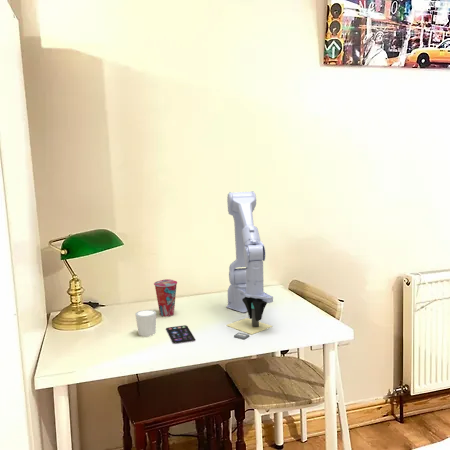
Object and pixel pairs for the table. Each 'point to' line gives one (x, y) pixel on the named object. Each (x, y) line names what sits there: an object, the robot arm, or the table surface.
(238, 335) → the word tile
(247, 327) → the note pad
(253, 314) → the marker
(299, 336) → the table surface
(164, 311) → the cup
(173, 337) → the smartphone
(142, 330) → the white short cylinder
